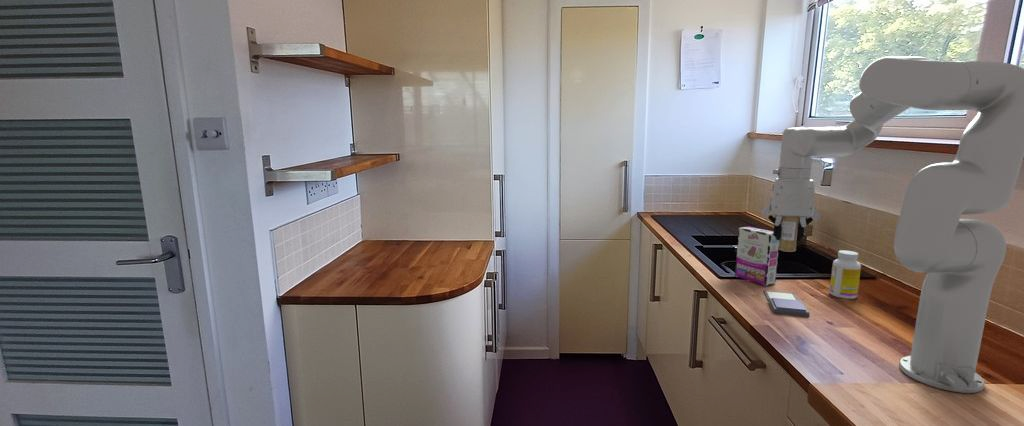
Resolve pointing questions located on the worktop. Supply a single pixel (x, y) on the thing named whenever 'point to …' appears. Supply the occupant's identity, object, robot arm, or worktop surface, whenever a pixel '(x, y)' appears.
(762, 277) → the candy bar box
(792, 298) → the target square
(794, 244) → the sprinkles bottle
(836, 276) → the supplement bottle
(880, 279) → the worktop surface
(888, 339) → the worktop surface
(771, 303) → the ink pad
